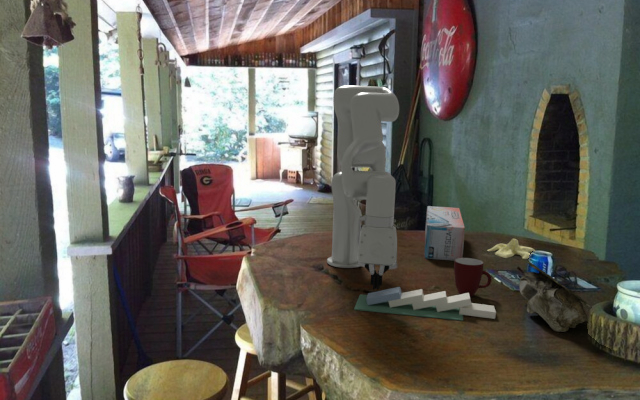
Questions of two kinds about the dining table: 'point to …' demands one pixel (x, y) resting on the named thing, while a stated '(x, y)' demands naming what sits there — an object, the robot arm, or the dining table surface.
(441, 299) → the domino
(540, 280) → the hollow geode rock
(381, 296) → the domino
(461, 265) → the mug
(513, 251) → the cloth
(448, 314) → the felt mat
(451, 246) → the soda box
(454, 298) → the domino
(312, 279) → the dining table surface
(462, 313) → the domino
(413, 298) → the domino
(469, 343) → the dining table surface
